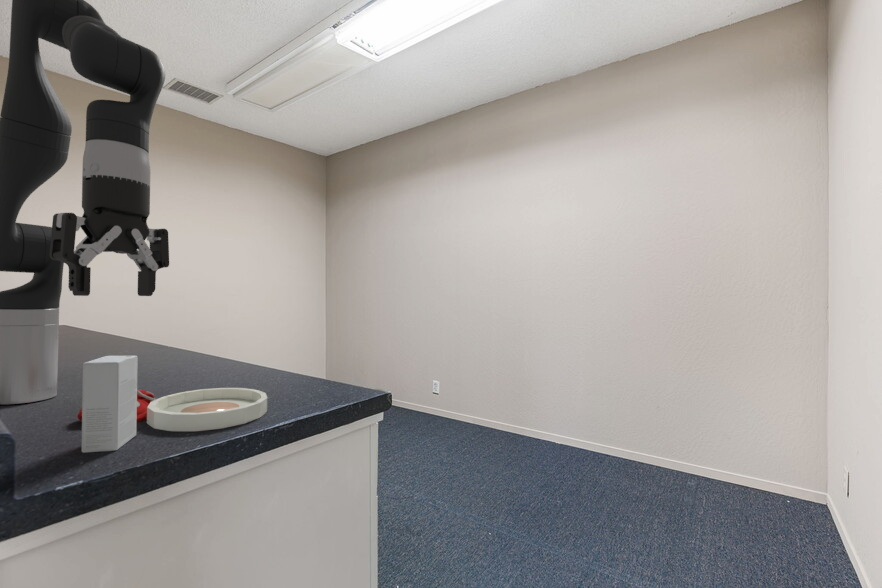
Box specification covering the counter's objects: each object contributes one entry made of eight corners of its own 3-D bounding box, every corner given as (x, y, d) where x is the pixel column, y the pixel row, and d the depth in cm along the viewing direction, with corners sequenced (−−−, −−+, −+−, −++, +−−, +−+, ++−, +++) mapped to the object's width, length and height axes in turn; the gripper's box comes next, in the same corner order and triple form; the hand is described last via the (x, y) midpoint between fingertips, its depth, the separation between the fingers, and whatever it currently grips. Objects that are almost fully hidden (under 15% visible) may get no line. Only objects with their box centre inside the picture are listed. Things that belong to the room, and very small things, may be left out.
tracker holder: (154, 416, 68) (77, 409, 63) (146, 441, 68) (68, 436, 63) (161, 384, 78) (95, 376, 73) (153, 406, 79) (87, 399, 73)
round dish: (120, 422, 67) (121, 406, 67) (212, 397, 84) (213, 384, 84) (207, 437, 62) (208, 420, 62) (287, 407, 79) (287, 393, 79)
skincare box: (102, 437, 60) (105, 355, 60) (137, 435, 61) (139, 355, 61) (78, 453, 54) (81, 362, 54) (116, 451, 56) (119, 361, 56)
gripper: (147, 194, 66) (145, 296, 66) (37, 167, 53) (34, 295, 53) (183, 191, 64) (181, 296, 64) (78, 162, 50) (75, 295, 50)
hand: (115, 295), depth 58 cm, fingers open, 8 cm apart
